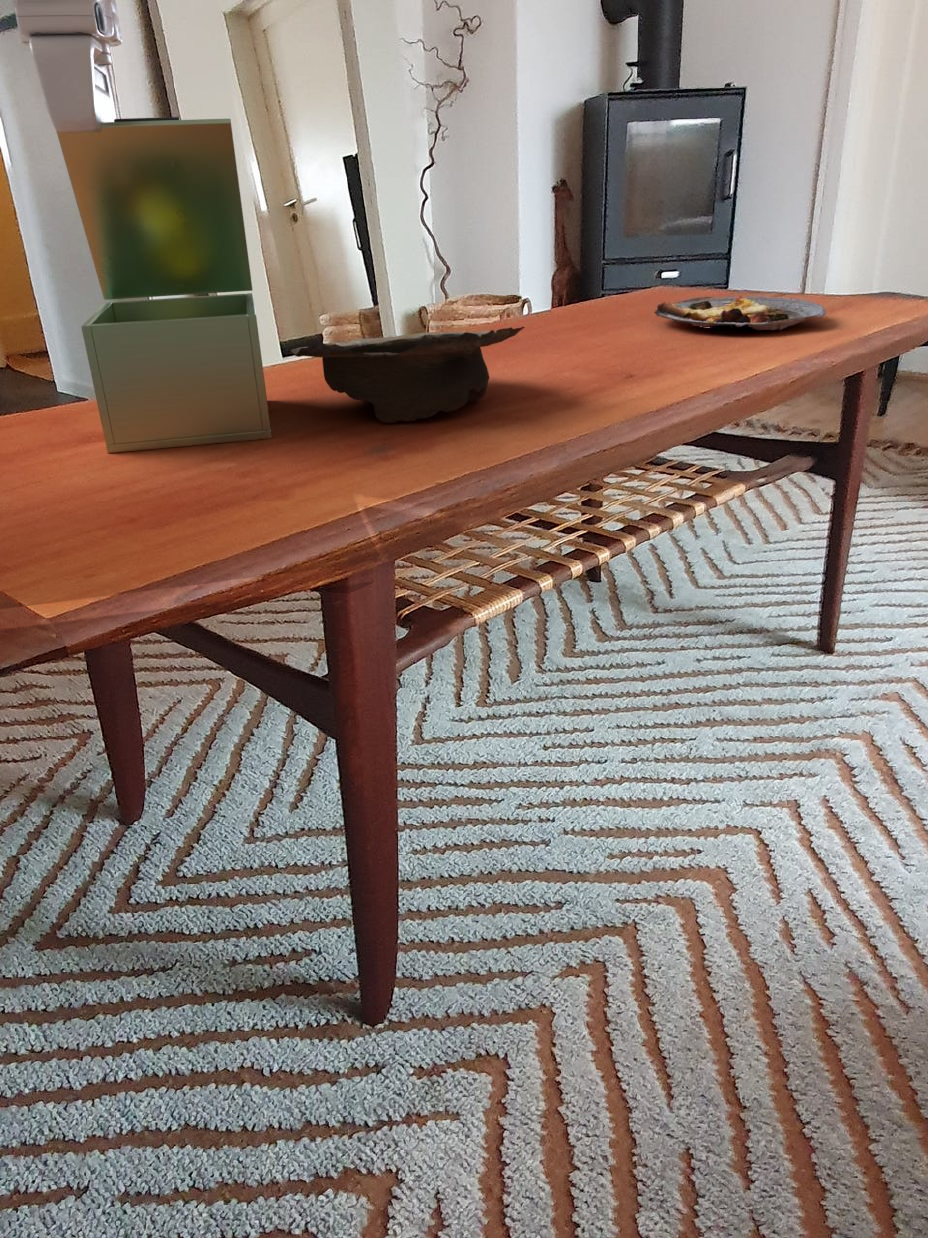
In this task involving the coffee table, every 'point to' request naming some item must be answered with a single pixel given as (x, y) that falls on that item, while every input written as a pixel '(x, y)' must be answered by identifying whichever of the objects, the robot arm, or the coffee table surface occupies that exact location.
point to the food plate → (741, 311)
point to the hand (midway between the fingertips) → (100, 188)
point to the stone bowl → (409, 371)
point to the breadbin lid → (160, 206)
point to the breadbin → (177, 372)
